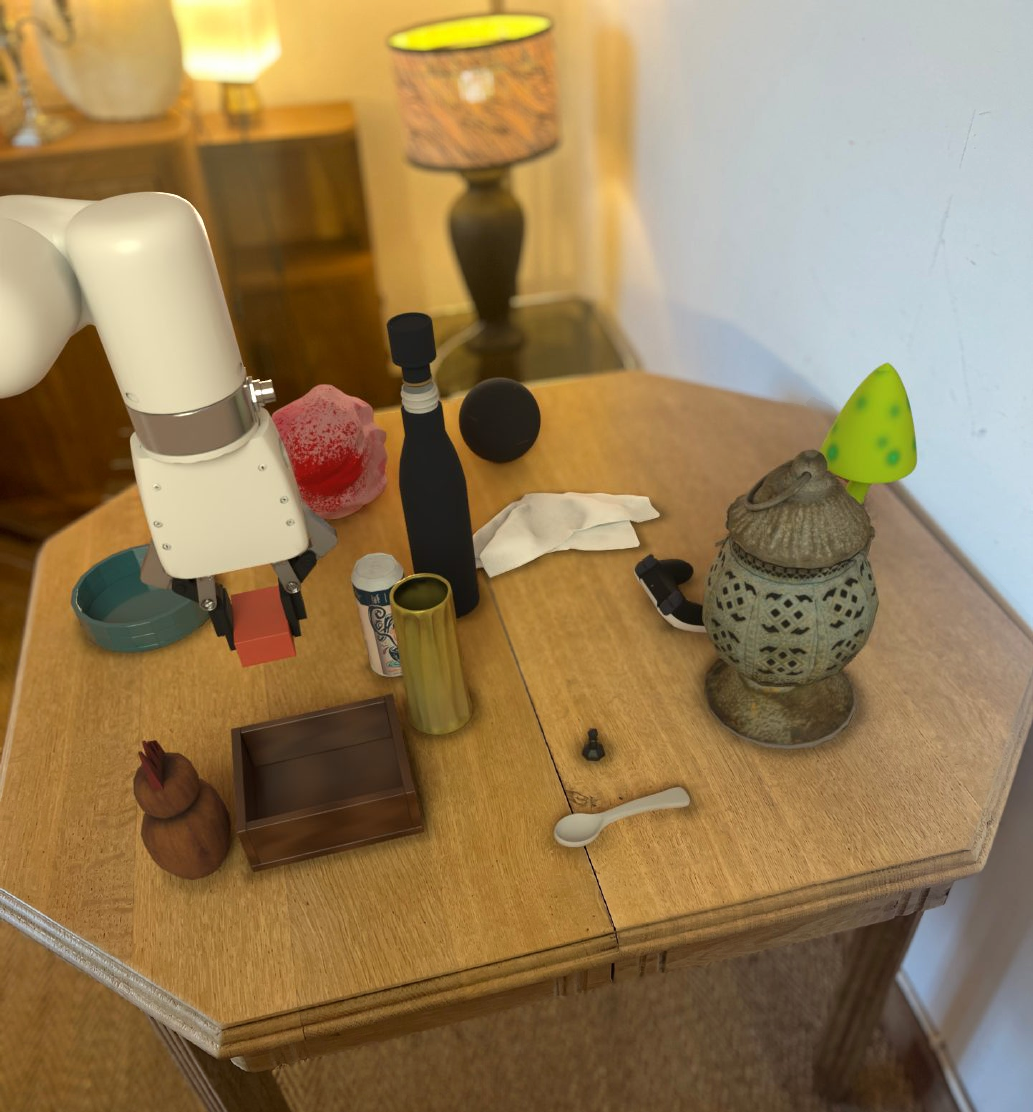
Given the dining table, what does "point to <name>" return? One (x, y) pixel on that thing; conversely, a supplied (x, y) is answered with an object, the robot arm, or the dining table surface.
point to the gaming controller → (670, 591)
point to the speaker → (499, 420)
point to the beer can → (378, 609)
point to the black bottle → (431, 468)
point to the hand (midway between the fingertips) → (264, 630)
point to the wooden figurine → (180, 814)
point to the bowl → (131, 606)
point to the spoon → (614, 817)
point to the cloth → (558, 527)
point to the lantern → (789, 607)
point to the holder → (322, 783)
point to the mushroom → (873, 434)
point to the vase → (430, 654)
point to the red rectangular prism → (261, 627)
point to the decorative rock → (333, 451)
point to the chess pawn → (593, 747)
